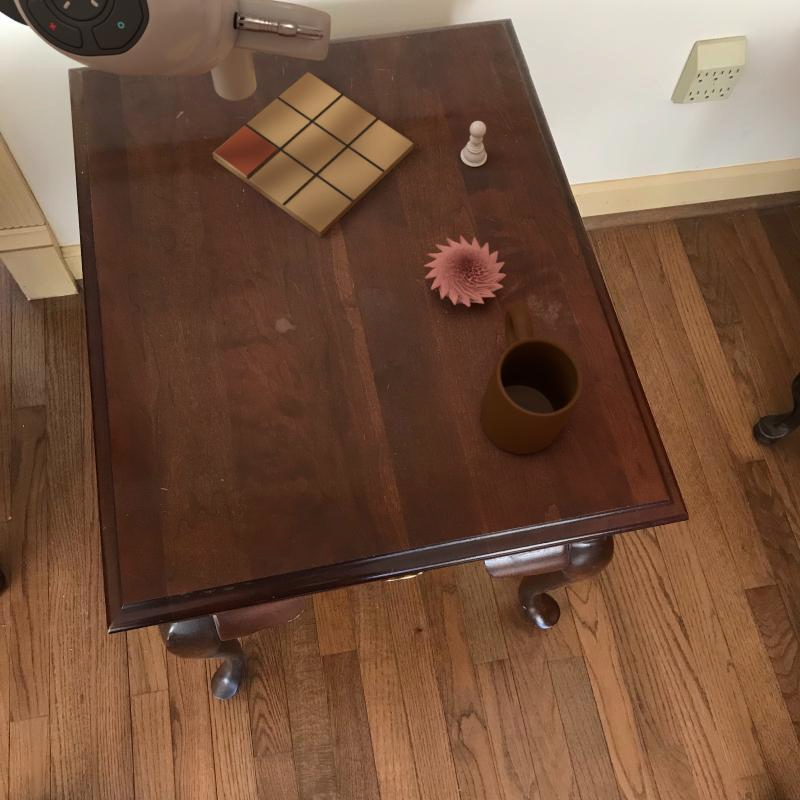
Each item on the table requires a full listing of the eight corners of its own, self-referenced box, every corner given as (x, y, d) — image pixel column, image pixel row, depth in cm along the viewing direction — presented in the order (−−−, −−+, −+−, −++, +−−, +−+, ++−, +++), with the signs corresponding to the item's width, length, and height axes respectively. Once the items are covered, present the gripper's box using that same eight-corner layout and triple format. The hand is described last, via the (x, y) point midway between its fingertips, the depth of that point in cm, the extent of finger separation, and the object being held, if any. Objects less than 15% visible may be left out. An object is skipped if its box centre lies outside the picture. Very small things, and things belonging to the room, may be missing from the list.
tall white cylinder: (205, 85, 78) (180, -25, 67) (234, 61, 80) (214, -51, 69) (236, 107, 78) (216, -1, 67) (265, 83, 79) (250, -27, 68)
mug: (462, 346, 80) (475, 296, 72) (538, 336, 81) (560, 285, 73) (488, 462, 76) (505, 424, 67) (568, 451, 77) (595, 411, 68)
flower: (498, 328, 81) (508, 299, 76) (417, 320, 81) (421, 290, 76) (502, 260, 85) (511, 228, 79) (424, 251, 84) (428, 219, 79)
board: (213, 159, 88) (211, 151, 87) (308, 78, 93) (308, 70, 92) (320, 237, 85) (320, 231, 84) (413, 149, 90) (414, 142, 89)
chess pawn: (469, 171, 89) (476, 139, 84) (455, 153, 90) (460, 120, 85) (491, 161, 89) (499, 128, 85) (477, 142, 90) (483, 109, 86)
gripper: (321, -16, 59) (348, 1, 71) (36, -60, 59) (114, -35, 72) (311, 79, 61) (339, 79, 74) (38, 36, 61) (113, 44, 74)
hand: (226, 23), depth 73 cm, fingers closed on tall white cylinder, 4 cm apart
